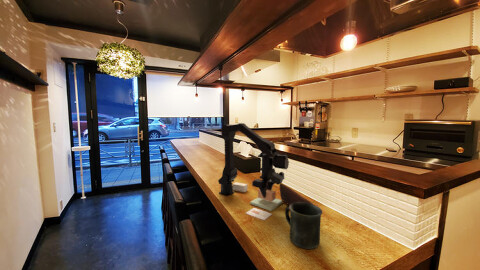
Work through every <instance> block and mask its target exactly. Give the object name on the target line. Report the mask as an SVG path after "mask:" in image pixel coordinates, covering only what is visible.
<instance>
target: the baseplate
mask: <svg viewBox="0 0 480 270" xmlns="http://www.w3.org/2000/svg"><path fill="white" fill-rule="evenodd" d="M281 204H283V200H282V199H279V198H276V197H275V200H273V201H268V200H265V199H261V198H258V197H256V198H255V199H253V200H251V201H250V204H249V205H252V206H253V207H254V206H256V207H257V208H261V209H264V210H267V211H270V212H272V211H273V210H274V209H276V208H277V207H279V206H280V205H281Z"/></svg>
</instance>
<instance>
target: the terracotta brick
mask: <svg viewBox="0 0 480 270" xmlns="http://www.w3.org/2000/svg"><path fill="white" fill-rule="evenodd" d="M276 191H277V190H276ZM276 191H275V190H273V189H272V190H268V189H267V191H266V197H265V198H264V197H263V196H262V193H261V191H260V189H258V190H257V198H261V199H265V200H268V201H273V200H275V198H276V195H277V194H276Z"/></svg>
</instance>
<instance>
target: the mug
mask: <svg viewBox="0 0 480 270" xmlns="http://www.w3.org/2000/svg"><path fill="white" fill-rule="evenodd" d="M322 214H323V210H322V208H320V207H319V206H318V205H316V204H314V205H313V203H312V204H310V203H305V202H296V203H292V204H291V205H288V206H287V207H286V208H285V210H284V215H285V220H286V222H287V224H288V225H289V239H290V241H291V242H292V243H293V244H294V245H295V246H297V247H299V248H302V249H306V250H311V249H312V250H313V249H316V248H318V246H319V245H320V244H321V243H320V240H321V239H320V237H321V224H322V223H321V219H322V217H321V216H322Z"/></svg>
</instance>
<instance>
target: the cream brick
mask: <svg viewBox="0 0 480 270" xmlns="http://www.w3.org/2000/svg"><path fill="white" fill-rule="evenodd" d="M232 186H233V191H234V192H236V191H237V192H242V193H246V192H247V191H248V184H247V183H242V182H237V181H234V182H233V183H232Z"/></svg>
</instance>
